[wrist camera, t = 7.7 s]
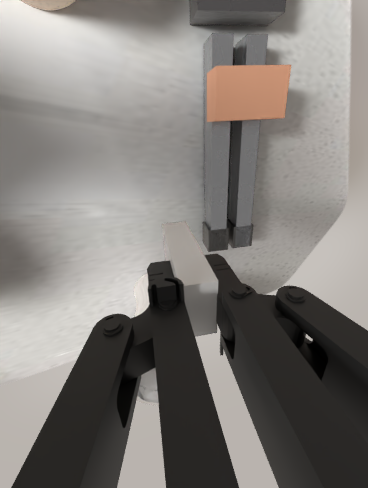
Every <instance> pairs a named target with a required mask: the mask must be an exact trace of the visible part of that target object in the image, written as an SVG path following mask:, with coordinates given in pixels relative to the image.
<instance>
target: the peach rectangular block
mask: <svg viewBox="0 0 368 488" xmlns="http://www.w3.org/2000/svg"><path fill="white" fill-rule="evenodd" d="M290 70H291V65H233V66H215V67H214V68H213V69H212V70H210V71H209V72H208V73H207V122H218V121H239V120H261V119H277V118H284V117H285V109H286V102H287V94H288V86H289V78H290Z"/></svg>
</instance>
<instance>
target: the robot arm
mask: <svg viewBox="0 0 368 488" xmlns="http://www.w3.org/2000/svg"><path fill="white" fill-rule="evenodd" d="M162 230H163V241H164V252H165V261H162V262H155V263H150V265H149V267H148V268H147V273H148V284H149V285H148V296H149V303H150V304H149V306H148V308H147V309H146V310H145V311H144V312H143V313H141V314H140V315H138V316H136V317H133V318H131V319H130V318H129V317H128V316H126V315H123V314H113V315H109V316H107V317H104V318H103V319H101V320H100V321H99V322H98V323H97V324H96V325H95V326H94V328H93V330H92V332H91V334H90V336H89V338H88V340H87V342H86V344H85V345H84V347H83V349H82V351H81V353H80V355H79V357H78V359H77V361H76V363H75V365H74V367H73V369H72V371H71V373H70V375H69V377H68V379H67V380H66V383H65V384H64V386H63V388H62V391H61V392H60V394H59V396H58V398H57V400H56V402H55V404H54V406H53V408H52V410H51V412H50V414H49V416H48V418H47V419H46V422H45V423H44V425H43V427H42V429H41V431H40V433H39V435H38V437H37V439H36V441H35V443H34V445H33V447H32V449H31V451H30V452H29V455H28V456H27V458H26V460H25V462H24V464H23V466H22V468H21V470H20V472H19V474H18V476H17V478H16V480H15V482H14V484H13V486H12V487H11V488H117V484H118V480H119V476H120V471H121V467H122V462H123V457H124V453H125V449H126V444H127V439H128V435H129V431H130V426H131V422H132V417H133V412H134V408H135V404H136V399H137V395H138V390H139V386H140V381H141V375H143V374H144V373H146V372H148V371H150V370H152V369H154V368H156V379H157V391H158V402H159V413H160V424H161V434H162V446H163V457H164V468H165V479H166V488H239V486H238V483H237V479H236V476H235V472H234V469H233V466H232V462H231V459H230V455H229V452H228V449H227V445H226V442H225V438H224V435H223V431H222V428H221V424H220V421H219V418H218V414H217V411H216V407H215V404H214V401H213V397H212V394H211V390H210V387H209V383H208V380H207V377H206V373H205V370H204V366H203V363H202V359H201V356H200V353H199V349H198V346H197V343H196V339H195V336H201V335H206V334H212V333H217V324H218V326H219V329H220V331H221V336H220V355H223V349H224V351H225V354H226V356H227V359H228V361H229V364H230V366H231V368H232V371H233V374H234V376H235V379H236V381H237V384H238V386H239V389H240V391H241V394H242V396H243V399H244V401H245V404H246V406H247V409H248V411H249V414H250V416H251V419H252V421H253V424H254V426H255V429H256V431H257V434H258V436H259V439H260V441H261V444H262V446H263V449H264V451H265V454H266V456H267V459H268V461H269V464H270V466H271V469H272V471H273V474H274V476H275V479H276V481H277V484H278V486H279V488H368V331H367V330H366V329H364V328H363V327H361V326H360V325H358V324H357V323H355V322H353V321H352V320H351V319H349V318H347V317H346V316H345V315H343V314H342V313H340V312H338V311H337V310H336V309H334V308H332V307H331V306H329V305H328V304H326V303H325V302H323V301H322V300H320V299H319V298H317V297H316V296H314V295H313V294H311V293H310V292H308V291H306V290H305V289H303V288H299V287H296V286H283V287H281V288H279V289H278V291H277V294H276V296H275V295H262V294H257V293H256V291H255V290H254V289H253V288H252V287H250V286H248V285H246V284H242V283H241V282H240V281H239V279H238V278H237V276H236V275H235V273H234V272H233V270H232V269H231V267H230V266H229V265H228V263H227V262H226V260H225V259H224V258H223V257H222V256H220V255H218V254H210V255H204V254H203V252H202V250H201V248H200V247H199V245H198V243H197V241H196V239H195V237H194V236H193V234H192V232H191V230H190V228H189V226H188V225H187V223H186V221H184V222H175V223H166V224H162ZM306 334H307V335H308V336H310V337H311V338H312V339H313V341H310V340H308V339H307V338H306V337H305V336H306Z"/></svg>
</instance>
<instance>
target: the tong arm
mask: <svg viewBox="0 0 368 488" xmlns="http://www.w3.org/2000/svg"><path fill="white" fill-rule="evenodd" d="M233 38H234V33H212V34H211V35H210V37H209V38H208V39H207V40H206V42H205V43H204V165H205V222H203V243H204V245H205V246H206V248H207V250H208V252H211V251H219V250H227V249H228V231H229V228H228V227H227V226H226V224H227V198H228V171H229V145H230V121H218V122H207V73H208V72H209V71H210V70H212V69H213V68H214V67H215V66H232V65H233Z"/></svg>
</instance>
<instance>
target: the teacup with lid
mask: <svg viewBox="0 0 368 488" xmlns="http://www.w3.org/2000/svg"><path fill="white" fill-rule="evenodd" d="M21 1H22V2H24V3H26V4H28V5H30V6H32V7H35V8H38V9H42V10H59V9H62V8H65V7H67V6H69V5H71V4H72V3H73V2H75V1H76V0H21Z"/></svg>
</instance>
